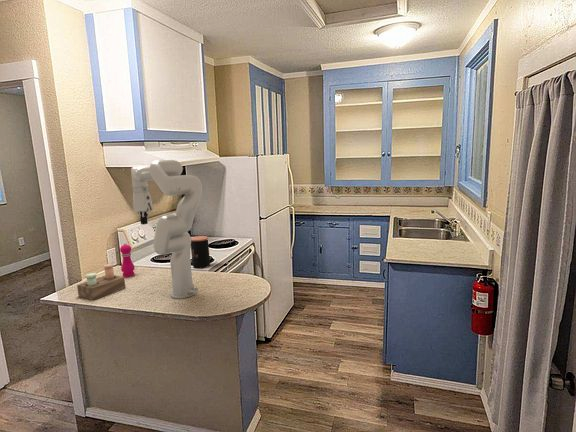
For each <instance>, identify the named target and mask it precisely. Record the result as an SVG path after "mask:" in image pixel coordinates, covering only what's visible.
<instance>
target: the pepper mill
mask: <svg viewBox="0 0 576 432" xmlns="http://www.w3.org/2000/svg"><path fill="white" fill-rule="evenodd" d="M119 248H120V249H119V252H120V253H121V257H122V263H121V267H120V270H121V272H122V277H124V278H131V277H130V276H132V277H134V276H135V269H136V267H135V264H134V263H133V261H132V257H131V255H132V253H131V251H132V246H131V245H129V244H127V242H126V241H125V242H123V245H121V246H120V247H119ZM133 275H134V276H133Z"/></svg>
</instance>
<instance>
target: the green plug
mask: <svg viewBox="0 0 576 432" xmlns="http://www.w3.org/2000/svg"><path fill="white" fill-rule="evenodd" d="M84 277H85V278H86V282H87V284H88V286H93V285H96V284H97V282H96V279H97V273H96V272H90V273H87V274H85V276H84Z"/></svg>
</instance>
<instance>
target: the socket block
mask: <svg viewBox="0 0 576 432" xmlns="http://www.w3.org/2000/svg"><path fill="white" fill-rule="evenodd" d="M96 282H97V284H96V285H93V286H88V284H87V281H84V282H82V283H80V284H77V285H76V287H77V294H78V297H79V298H82V297H83V298H82V299H87V300H92V301H95V300H99V299H100V298H103V297H106V296H108V295H111V294H113V292H114V293H115V292H119V291H121V290H124V289H126V281H125V277H123V275H122V276H121V275H120V276H119V275H114V278H113V279H110V280H106V277H105V275H104V276H100V277H98V278H97V277H96ZM123 288H124V289H123ZM118 290H119V291H118ZM105 295H106V296H105Z"/></svg>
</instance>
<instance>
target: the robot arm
mask: <svg viewBox="0 0 576 432" xmlns="http://www.w3.org/2000/svg"><path fill="white" fill-rule="evenodd" d="M183 169H184V168H183V166H182V164H181V162H179V161H177V160H176V159H175V160H174V159H165V160H163V159H162V160H153V161H152V162H151V163H150V165H147V166H146V165H143V166H134V167H133V166H132V167H131V168H130V175H131V183H132V191H133V193H132V204H133V211H134V212H135V214H137V215H138V216H139V217H138V218H139V220H140V225H144V226H145V225H147V224H148V223H149V222H148V217H149V215H150V214H151V213H152V212H151V211H153V209H154V206H153V200H152V196H151V193H150V192H149V183H148V181H154V182H155V184H156V185H157V187H158V188H159V189H160V191H161V192H162V193H163V194H164V195H165V196H170V197H171V196H180V195H181V196H182V195H184V196H183V197H182V198H181V199H180V200H179V202H178V203H177V205H176V209H175V212H174V213H171V214H166V215H162V216H161V217H160V218H159V219H158V220H157V222H156V226H155V227H156V228H155V233H154V238H153V250H154V251H155V253H156V254H157V255H160V256H163V255H164V256H165V255H168V254H171V256H170V261H169V262H170V263H169V264H170V274H171V283H172V291H170V293H169V297H170V298H172V299H177V300H178V299H180V300H181V299H186V298H190V297H193V296H195V295H197V293H198V291H199V289H198V288H197V287H195V284H193V274H192V258H191V238H192V237H191V234H190V233H189V231H191V229H192V226H193V223H194V219H195V216H196V211H197V208H198V205H199V204H200V201H201V199H202V196H203V185H202V182H201V179H200V178H199V177H198V176H196V175H192V174H183ZM181 174H182V175H181Z"/></svg>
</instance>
